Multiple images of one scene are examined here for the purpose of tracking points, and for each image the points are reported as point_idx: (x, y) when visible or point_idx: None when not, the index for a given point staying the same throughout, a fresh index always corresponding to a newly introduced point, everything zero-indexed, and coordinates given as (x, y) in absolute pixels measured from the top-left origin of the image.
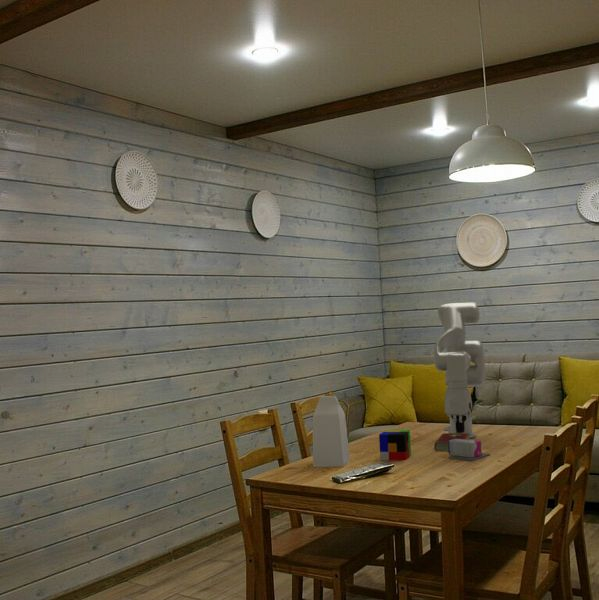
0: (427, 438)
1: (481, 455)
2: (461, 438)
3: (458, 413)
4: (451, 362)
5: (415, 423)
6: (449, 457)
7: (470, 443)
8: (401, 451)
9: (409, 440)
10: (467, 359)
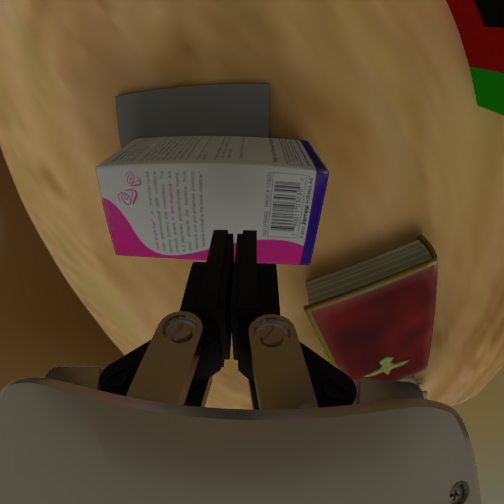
0: (458, 351)
1: None
2: (349, 352)
3: (111, 421)
4: None
5: (469, 397)
6: (266, 84)
7: (111, 164)
8: None
9: None
10: None
